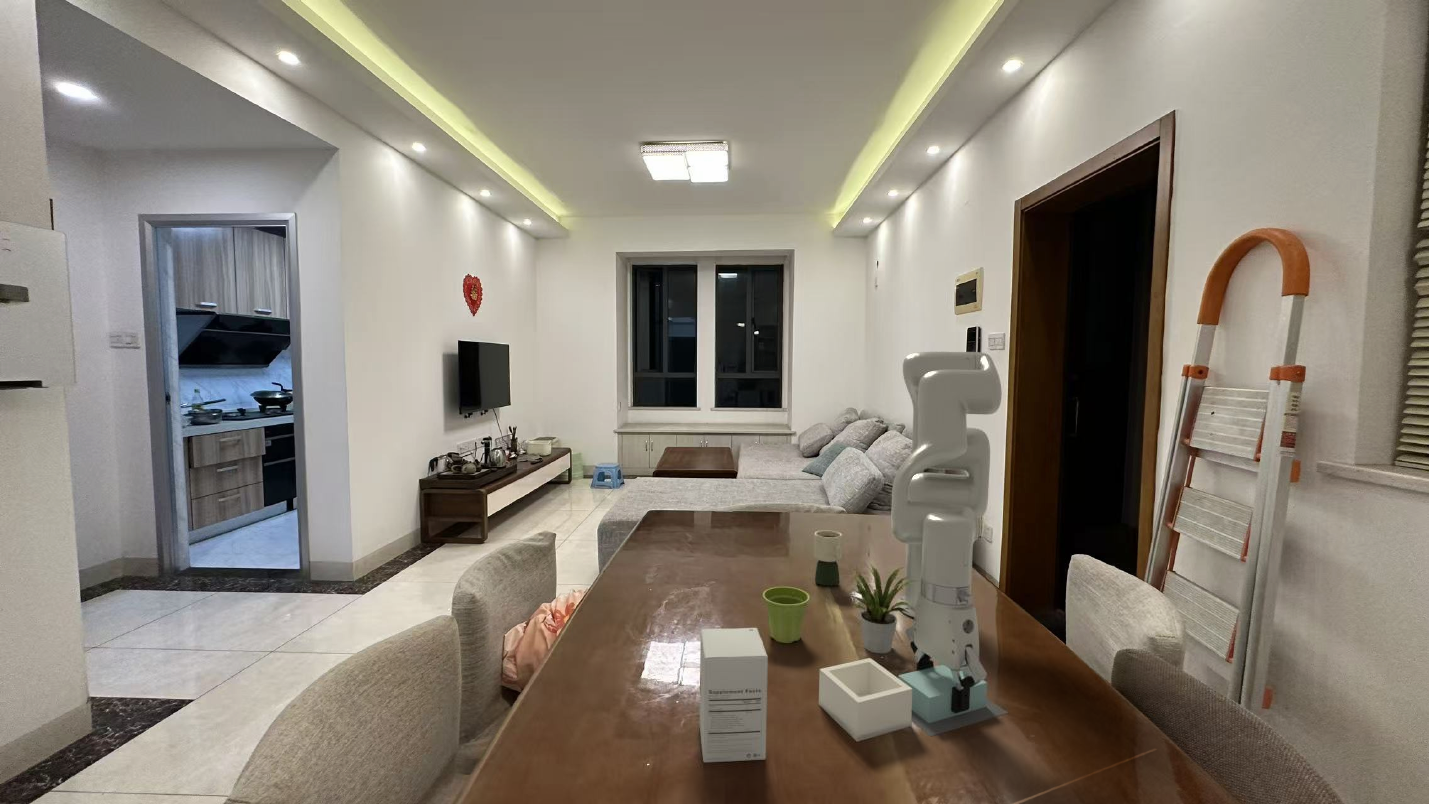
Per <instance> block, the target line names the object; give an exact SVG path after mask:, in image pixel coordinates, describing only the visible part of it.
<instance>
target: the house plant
mask: <svg viewBox="0 0 1429 804" xmlns="http://www.w3.org/2000/svg"><path fill="white" fill-rule="evenodd" d="M869 565H870V567H869V566H867V565H866V567H867V569H869V571H870V572H871V574H872V576H873V577H874V585H875V589H873V593H872V591H871V588H870V586H869V585H868V582H867V581H866V579H865V578H864V577H863V575H861V574H860V573H859V572H858V571H857V570H855V569H853V568H851V570H852V571H853V572H854V573H855V574H856V575H855V580H856V581H855V584H856V588H857V590H856V591H854V592H853V594H855V593H857V594H859V595H861V597H862V598H861V597H858V596H855V595H850V597H852V598H853V599H855V600H857V601H859V602H860V603H861V604H863V605H865V608H866V609H865V608H864V607H863V606H862V605H860V604H855V605H854V606H852V609H853V608H857V609H862V610H863V611H861V612H860V613H859V619H860V620H859V621H860V627H861V634H862V642H863V647H864V649H866V650H867V651H869V652H870V653H874V654H887V653H890V652H891V651H892V647H893V642H894V637H895V633H896V627H897V623H898V618H897V616H896V615H895V614H894V613H892V612H902V611H905V612H907V611H906V610H905V609H903V608H900V607H898V606H899V605H906V606H909V604H908V603H906V602H899V603H897V602H896V603H895V604H893V605H892V606H891V603H892V602H893V599H894V598H895V596H896V595H897V593H899V592H900V591H901V590H902V589H904V588H905V586H906V585H907V584H910V583H912V582H921V581H917V580H913V581H908V582H906V583H905V582H904V581H905V579H906V578H905V577H903V578H900V579H899V580H898V582H896V584H895V585H894V587H893V588H892V589H891V591H890V587H891V586H892V584H893V581H894V580H895V579H897V575H899V573H900V571H901V570H903V569H904V568H905V567H899V568H897V569H895V570H894V571H893V572H892V573H891V574H890V576H889V577H888V579H887V581H886V583H885V587H884V590H883V588H882V581H881V576H880V573H879V571H878V569H877V568H876V567H874V565H873V564H871V563H869ZM907 578H908V577H907ZM850 581H852V582H853V579H850ZM889 591H890V592H889ZM890 606H891V608H890ZM909 607H910V606H909ZM889 608H890V609H889ZM907 613H908V612H907Z"/></svg>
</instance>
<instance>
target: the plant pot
mask: <svg viewBox="0 0 1429 804" xmlns="http://www.w3.org/2000/svg"><path fill="white" fill-rule="evenodd" d="M762 597H763V600H764V603H765V605H766V609H767V610H766V611H767V619H768V626H769V634H770V638H771V639H774V640H775V641H776V642H778V643H783V644H791V643H793V642H795V641H796V642H797V641H799V640H800V639H801V635H802V629H803V623H804V617H805V611H806V608H807V607H808V606H807V605H808V603H809V601H810V595H809V593H807V592H806V591H805V590H802V589H800V588H797V587H793V586H792V587H791V586H775V587H770V588H767V589H765V590H764V591H763V593H762Z"/></svg>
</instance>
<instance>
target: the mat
mask: <svg viewBox="0 0 1429 804" xmlns="http://www.w3.org/2000/svg"><path fill="white" fill-rule="evenodd" d="M1006 714H1009V712H1008V711H1006V710H1005V709H1004V708H1002V707H1000V706H999V705H997V704H996V703H994V702H993V701H991V700H990V699H988V698H987V700H986V707H984V708H980V709H977V710H973V711H970V712H966V713H963V714H959V715H956V716H952V717H949V718H946V719H942V720H939V721H935V722H932V723H928V722H926V721H925V720H924V719H923V718H921V717H920V716H919V715H917V714H916V713H915V712H914V711H912V714H911V723H913V724H914V725H916V726H917V727H918V728H920V729H921V731H923V732H925V733H926V734H927V735H929V736H930V737H933V736H937V735H939V734H943V733H946V732H950V731H953V730H956V729H960V728H963V727H966V726H969V725H973V724H977V723H980V722H983V721H986V720H989V719H993V718H995V717H996V718H997V717H1000V716H1003V715H1006Z"/></svg>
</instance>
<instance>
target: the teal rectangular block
mask: <svg viewBox="0 0 1429 804" xmlns="http://www.w3.org/2000/svg"><path fill="white" fill-rule="evenodd" d="M959 673H960V676H961V679H964V675H963V672H962V671H959ZM897 678H898V679H900V680H901V681H902V682H904V683H905V684H907V685H908V686H909V687H911V688H912V711H914V712H915V713H916V714H917V715H919V716H920V717H921V718H923V719H924V720H925V721H926V722H928V723H932V722H935V721H939V720H942V719H946V718H949V717H952V716H956V715H959V714H963V713H966V712H970V711H973V710H977V709H980V708H984V707H986V700H987V699H988V698H987V695H988V682H987V681H985V680H984V679H983V680H981V681H980V682H979V683H978V684H976V685H974V687H971V688H970V704H969V709H968V710H966V711H963V712H959V713H954V712H952V710H951V706H952V687H955V683H954V680H953V676H952V673H951V669H950V668H948V667H946V666H945V665H943V664H940V665H936V666H934V667H932V668H928V669H924V670H919V671H916V670H915V671H911V672H906V673H902V674H899V675H898V676H897Z"/></svg>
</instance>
